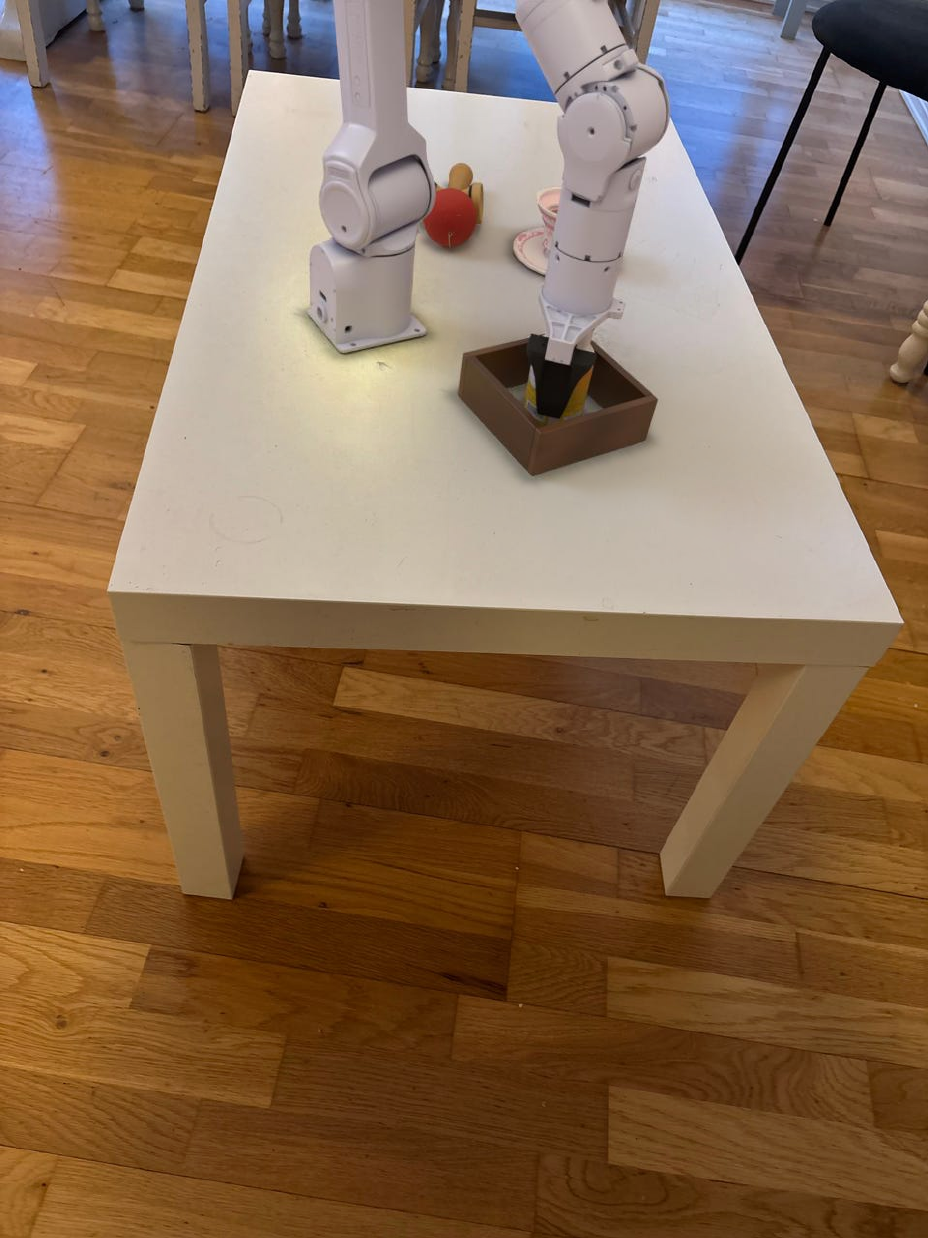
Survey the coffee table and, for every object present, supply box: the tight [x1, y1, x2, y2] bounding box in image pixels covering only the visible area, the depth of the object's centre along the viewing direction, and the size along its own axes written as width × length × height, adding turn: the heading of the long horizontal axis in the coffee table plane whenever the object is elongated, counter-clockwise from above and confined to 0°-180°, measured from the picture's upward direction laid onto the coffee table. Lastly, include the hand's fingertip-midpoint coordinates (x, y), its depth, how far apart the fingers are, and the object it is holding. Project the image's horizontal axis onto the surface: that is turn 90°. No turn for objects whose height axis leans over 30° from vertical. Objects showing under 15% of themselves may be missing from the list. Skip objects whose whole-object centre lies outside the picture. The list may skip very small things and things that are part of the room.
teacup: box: [512, 186, 562, 276], centre depth 102 cm, size 12×12×6 cm
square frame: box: [457, 333, 659, 476], centre depth 82 cm, size 13×13×4 cm
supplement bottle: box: [522, 326, 595, 426], centre depth 80 cm, size 5×5×10 cm
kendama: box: [421, 162, 485, 248], centre depth 106 cm, size 8×6×18 cm
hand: (556, 390), depth 82 cm, fingers open, 7 cm apart
